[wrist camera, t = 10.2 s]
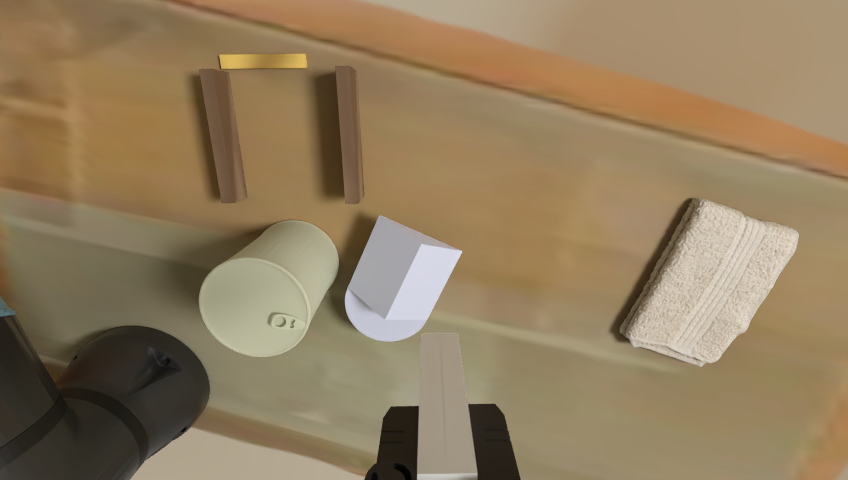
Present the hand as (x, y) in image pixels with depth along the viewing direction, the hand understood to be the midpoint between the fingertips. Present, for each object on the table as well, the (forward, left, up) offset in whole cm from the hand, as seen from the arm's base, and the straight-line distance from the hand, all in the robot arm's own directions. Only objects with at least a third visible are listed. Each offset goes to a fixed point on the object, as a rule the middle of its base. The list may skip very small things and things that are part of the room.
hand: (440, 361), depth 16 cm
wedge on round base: (-4, -7, -27) cm, 28 cm away
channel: (-14, +8, -27) cm, 31 cm away
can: (-15, -5, -27) cm, 31 cm away
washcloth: (+30, -9, -27) cm, 41 cm away
